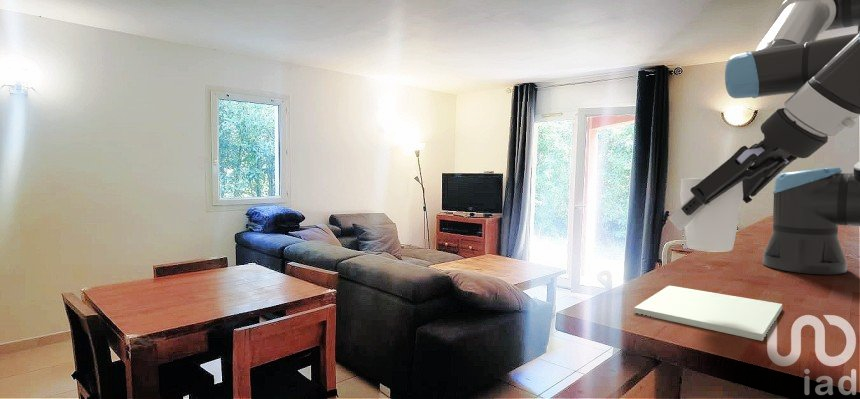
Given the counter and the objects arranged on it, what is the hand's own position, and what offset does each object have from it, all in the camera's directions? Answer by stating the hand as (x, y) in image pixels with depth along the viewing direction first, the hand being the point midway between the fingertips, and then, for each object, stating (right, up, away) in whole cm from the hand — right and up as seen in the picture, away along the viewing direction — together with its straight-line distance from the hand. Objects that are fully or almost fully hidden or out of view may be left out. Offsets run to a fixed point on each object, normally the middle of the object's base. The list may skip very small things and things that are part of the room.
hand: (691, 221), depth 77 cm
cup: (+2, -5, -2) cm, 5 cm away
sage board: (+2, -15, -1) cm, 16 cm away
